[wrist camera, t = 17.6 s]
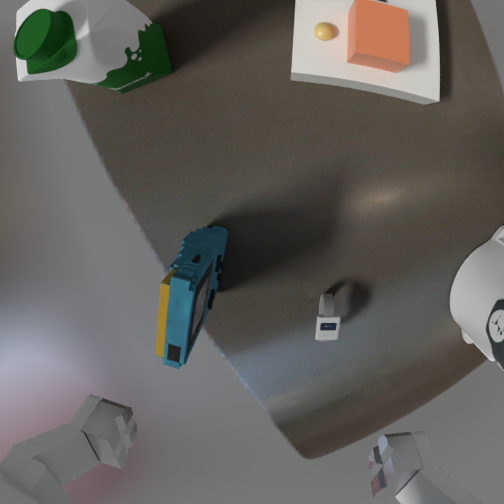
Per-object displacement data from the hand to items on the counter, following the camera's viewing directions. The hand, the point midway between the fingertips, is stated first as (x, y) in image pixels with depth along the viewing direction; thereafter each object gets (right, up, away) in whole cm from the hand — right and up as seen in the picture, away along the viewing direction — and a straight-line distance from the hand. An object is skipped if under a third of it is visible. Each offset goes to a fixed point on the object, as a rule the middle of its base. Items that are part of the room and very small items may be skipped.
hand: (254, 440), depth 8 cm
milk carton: (-13, +29, +22) cm, 39 cm away
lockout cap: (+12, +27, +16) cm, 34 cm away
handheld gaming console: (-5, +5, +30) cm, 31 cm away
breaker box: (+13, +32, +18) cm, 39 cm away
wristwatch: (+9, -1, +31) cm, 32 cm away
